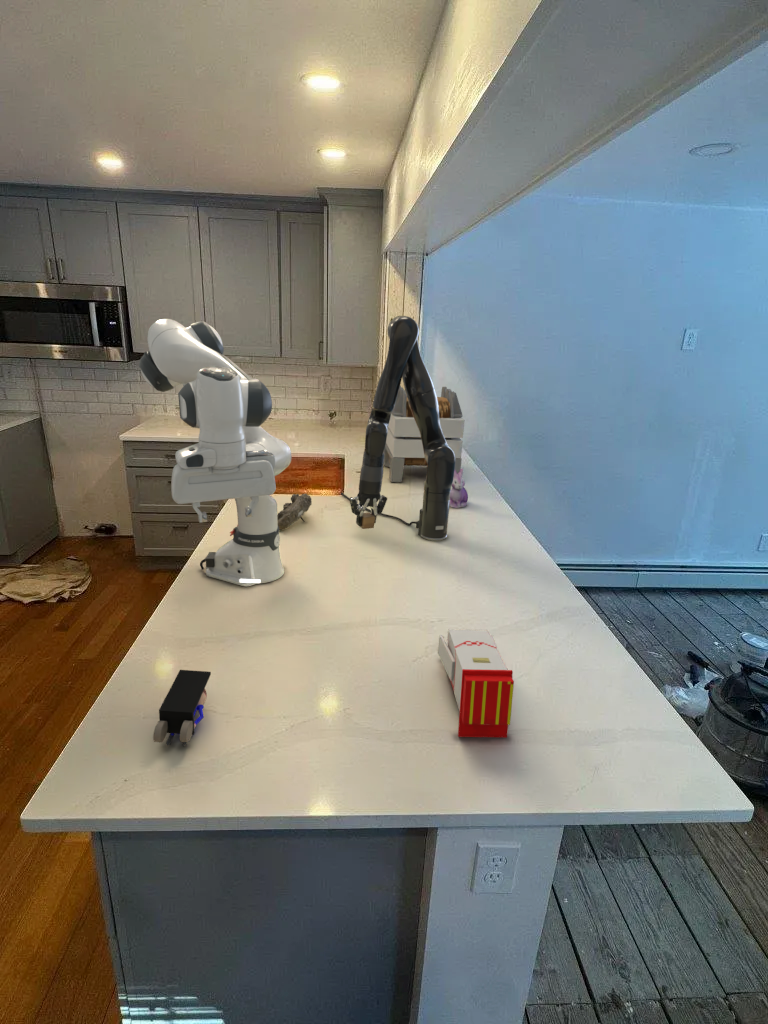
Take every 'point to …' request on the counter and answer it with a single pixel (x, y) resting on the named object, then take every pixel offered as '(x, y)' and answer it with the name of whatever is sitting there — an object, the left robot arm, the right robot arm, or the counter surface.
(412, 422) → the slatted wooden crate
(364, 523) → the brown wooden cube
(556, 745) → the counter surface
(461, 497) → the figurine
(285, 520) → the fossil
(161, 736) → the figurine character
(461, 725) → the toy
